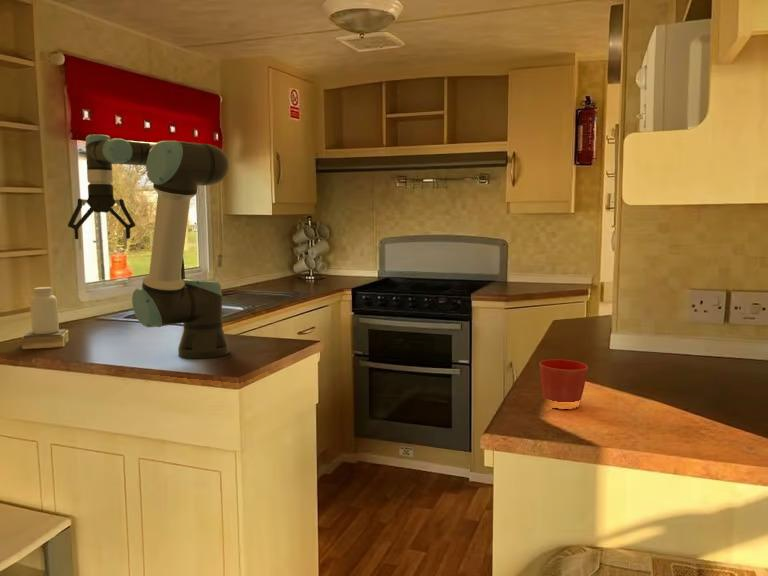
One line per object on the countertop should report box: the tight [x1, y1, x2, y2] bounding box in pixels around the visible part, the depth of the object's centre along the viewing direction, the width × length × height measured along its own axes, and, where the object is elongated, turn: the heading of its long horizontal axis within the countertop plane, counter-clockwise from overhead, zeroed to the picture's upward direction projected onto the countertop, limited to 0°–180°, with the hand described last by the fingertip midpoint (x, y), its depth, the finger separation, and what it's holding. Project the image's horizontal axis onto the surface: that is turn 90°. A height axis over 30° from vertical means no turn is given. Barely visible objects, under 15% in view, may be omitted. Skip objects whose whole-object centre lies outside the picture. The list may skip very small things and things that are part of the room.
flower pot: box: [538, 358, 589, 411], centre depth 149 cm, size 11×11×10 cm
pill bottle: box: [29, 286, 60, 334], centre depth 216 cm, size 8×8×15 cm
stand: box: [21, 328, 70, 350], centre depth 217 cm, size 12×12×4 cm
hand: (103, 249), depth 214 cm, fingers open, 13 cm apart
